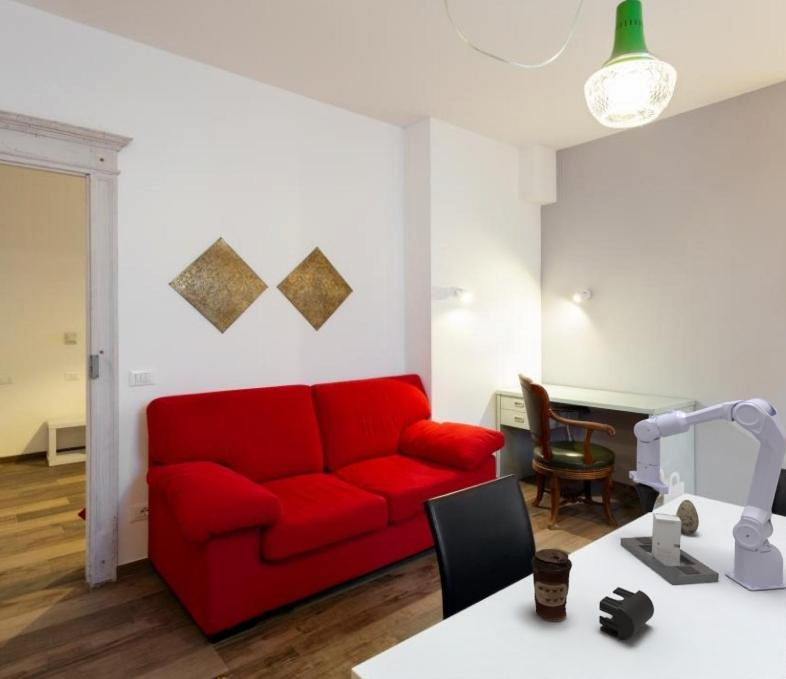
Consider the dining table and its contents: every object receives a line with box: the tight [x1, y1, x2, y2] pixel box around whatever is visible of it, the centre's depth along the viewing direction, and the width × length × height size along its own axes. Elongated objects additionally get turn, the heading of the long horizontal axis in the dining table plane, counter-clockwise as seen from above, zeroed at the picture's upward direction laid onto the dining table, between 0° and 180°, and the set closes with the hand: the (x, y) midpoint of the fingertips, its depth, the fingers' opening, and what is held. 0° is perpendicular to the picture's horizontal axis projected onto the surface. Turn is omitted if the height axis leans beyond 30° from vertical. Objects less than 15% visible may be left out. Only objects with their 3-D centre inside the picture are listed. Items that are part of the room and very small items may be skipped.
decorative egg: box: [675, 499, 700, 535], centre depth 153 cm, size 6×6×10 cm
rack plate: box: [620, 535, 720, 586], centre depth 135 cm, size 12×22×2 cm, turn 7°
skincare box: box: [651, 512, 682, 566], centre depth 134 cm, size 6×4×12 cm
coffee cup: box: [530, 548, 573, 622], centre depth 110 cm, size 9×8×13 cm
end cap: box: [598, 586, 655, 641], centre depth 105 cm, size 10×7×7 cm
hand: (647, 511), depth 142 cm, fingers closed
